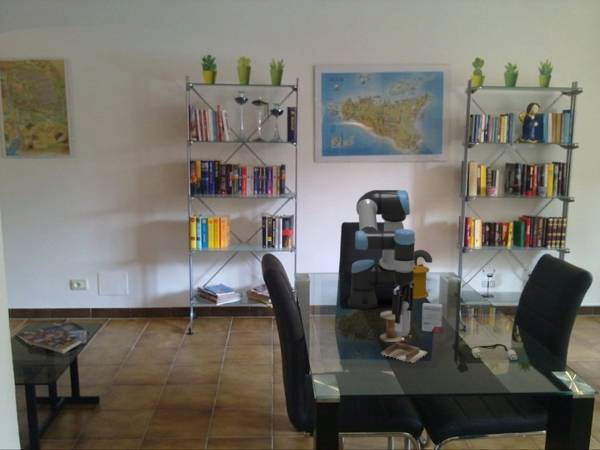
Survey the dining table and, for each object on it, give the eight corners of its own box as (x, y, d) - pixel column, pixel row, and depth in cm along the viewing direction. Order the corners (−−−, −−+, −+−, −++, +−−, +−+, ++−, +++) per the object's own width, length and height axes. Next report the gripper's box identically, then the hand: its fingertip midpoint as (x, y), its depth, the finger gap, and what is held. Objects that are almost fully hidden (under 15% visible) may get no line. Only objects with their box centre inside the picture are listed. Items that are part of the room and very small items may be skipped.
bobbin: (376, 339, 210) (376, 314, 209) (386, 333, 217) (387, 309, 216) (395, 344, 205) (395, 319, 203) (405, 338, 212) (406, 313, 210)
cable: (465, 344, 206) (466, 336, 205) (506, 346, 203) (507, 338, 203) (473, 360, 190) (473, 351, 190) (518, 362, 188) (518, 353, 188)
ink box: (442, 329, 222) (443, 303, 221) (441, 333, 218) (442, 307, 216) (422, 327, 225) (423, 302, 223) (421, 330, 220) (422, 305, 219)
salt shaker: (393, 331, 195) (393, 299, 193) (407, 331, 195) (408, 299, 193) (397, 337, 189) (398, 304, 187) (411, 336, 189) (412, 303, 188)
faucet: (426, 286, 292) (427, 253, 289) (401, 283, 300) (401, 250, 297) (436, 280, 307) (437, 248, 304) (411, 276, 315) (412, 246, 312)
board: (380, 354, 195) (380, 347, 194) (395, 345, 204) (395, 338, 204) (413, 363, 186) (413, 356, 186) (427, 353, 195) (427, 347, 195)
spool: (432, 292, 280) (433, 266, 278) (422, 300, 265) (423, 273, 263) (402, 288, 290) (403, 263, 287) (390, 295, 275) (391, 269, 272)
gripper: (400, 276, 179) (399, 337, 182) (423, 267, 193) (422, 324, 197) (382, 273, 184) (381, 333, 187) (406, 264, 198) (405, 320, 201)
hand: (402, 328), depth 192 cm, fingers closed on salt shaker, 6 cm apart
